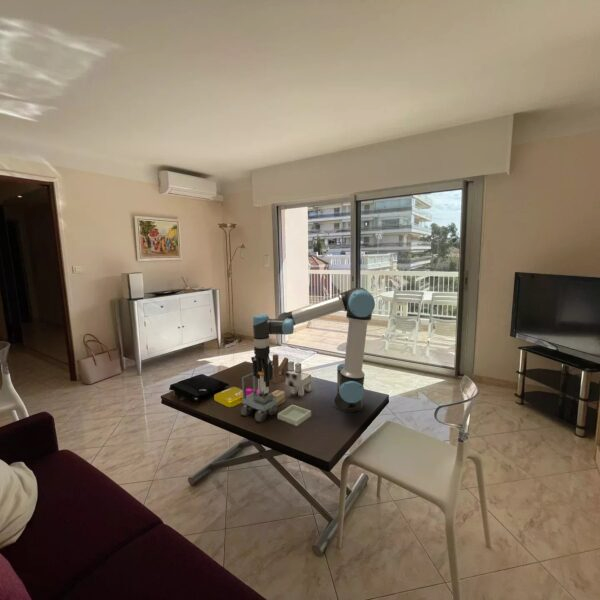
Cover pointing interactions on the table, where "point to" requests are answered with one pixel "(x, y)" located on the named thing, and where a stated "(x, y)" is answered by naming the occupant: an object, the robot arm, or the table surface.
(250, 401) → the trolley
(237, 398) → the yellow square case
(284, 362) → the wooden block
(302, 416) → the tray
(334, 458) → the table surface
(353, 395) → the robot arm
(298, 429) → the table surface
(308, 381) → the toy llama
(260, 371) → the pin
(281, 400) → the chock
